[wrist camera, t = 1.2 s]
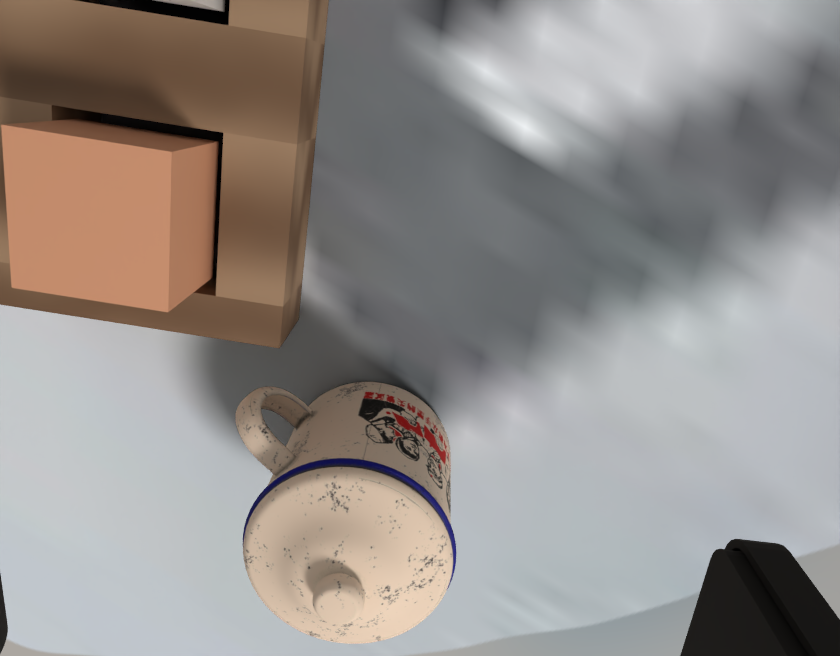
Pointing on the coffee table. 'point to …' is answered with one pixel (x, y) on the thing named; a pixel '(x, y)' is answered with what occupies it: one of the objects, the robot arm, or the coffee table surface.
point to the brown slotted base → (197, 108)
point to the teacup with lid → (350, 511)
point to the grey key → (200, 4)
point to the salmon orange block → (109, 211)
